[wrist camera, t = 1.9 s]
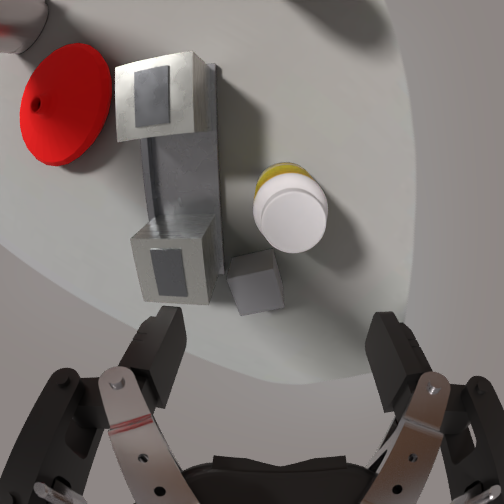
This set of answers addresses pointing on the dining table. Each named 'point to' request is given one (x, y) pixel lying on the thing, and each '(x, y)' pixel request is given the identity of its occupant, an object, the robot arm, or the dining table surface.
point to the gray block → (256, 282)
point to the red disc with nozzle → (65, 104)
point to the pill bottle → (290, 208)
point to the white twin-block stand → (175, 174)
